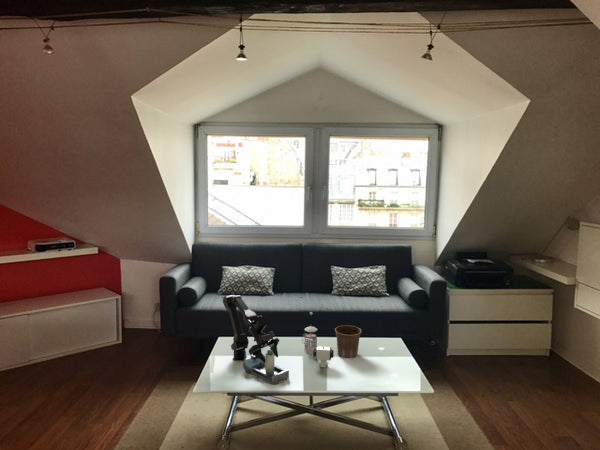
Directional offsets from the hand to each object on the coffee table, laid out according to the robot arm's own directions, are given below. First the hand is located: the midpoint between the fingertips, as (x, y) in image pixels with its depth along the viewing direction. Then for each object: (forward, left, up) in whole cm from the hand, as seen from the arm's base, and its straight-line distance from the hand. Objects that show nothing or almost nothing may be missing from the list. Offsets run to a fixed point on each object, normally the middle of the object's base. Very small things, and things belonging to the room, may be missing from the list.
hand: (271, 359), depth 241 cm
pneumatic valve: (+23, +23, -10) cm, 34 cm away
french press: (+9, +41, -10) cm, 44 cm away
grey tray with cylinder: (-4, +2, -10) cm, 11 cm away
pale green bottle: (-1, +1, -8) cm, 8 cm away
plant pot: (+33, +43, -10) cm, 55 cm away
